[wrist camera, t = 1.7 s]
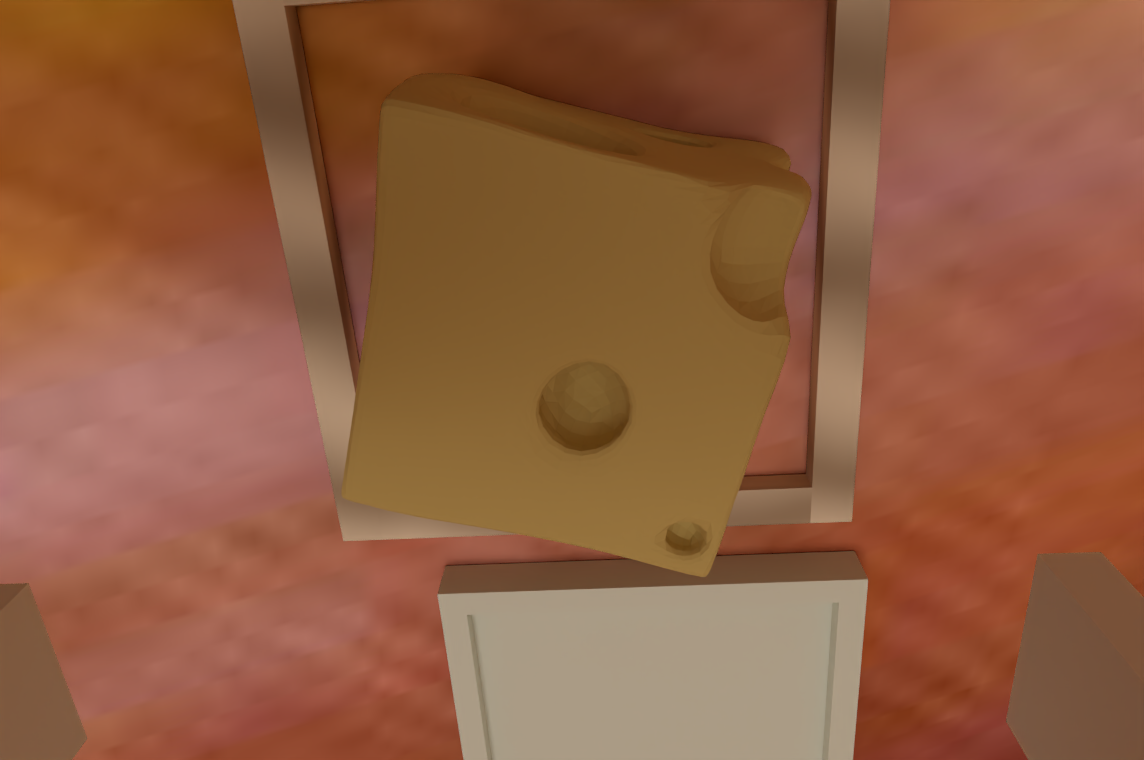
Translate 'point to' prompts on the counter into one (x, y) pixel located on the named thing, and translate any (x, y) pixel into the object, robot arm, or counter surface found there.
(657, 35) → the counter surface
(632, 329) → the cheese
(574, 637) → the plate
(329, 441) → the wooden square frame
